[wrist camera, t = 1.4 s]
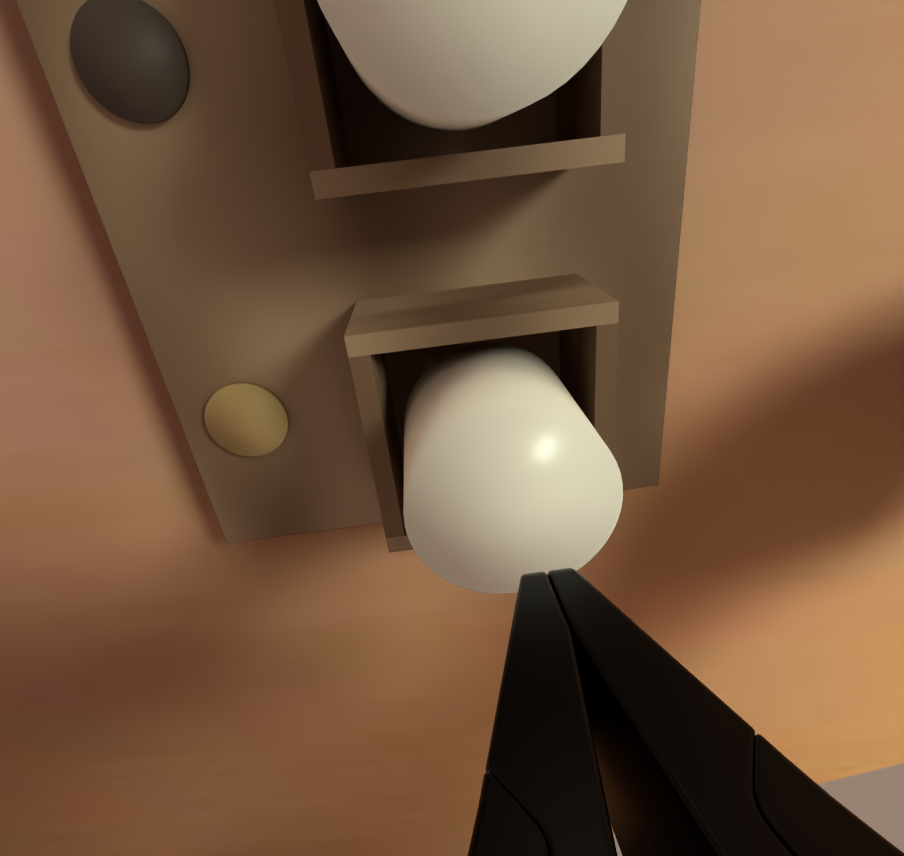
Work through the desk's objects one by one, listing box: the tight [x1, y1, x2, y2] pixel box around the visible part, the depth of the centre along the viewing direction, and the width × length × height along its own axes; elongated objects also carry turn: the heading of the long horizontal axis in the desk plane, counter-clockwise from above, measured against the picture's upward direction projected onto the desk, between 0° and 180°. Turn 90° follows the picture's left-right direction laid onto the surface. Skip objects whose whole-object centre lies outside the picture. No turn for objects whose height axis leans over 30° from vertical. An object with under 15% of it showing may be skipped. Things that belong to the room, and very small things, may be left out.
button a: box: [403, 343, 623, 594], centre depth 12 cm, size 4×4×4 cm
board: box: [16, 0, 701, 552], centre depth 11 cm, size 15×27×4 cm, turn 6°
